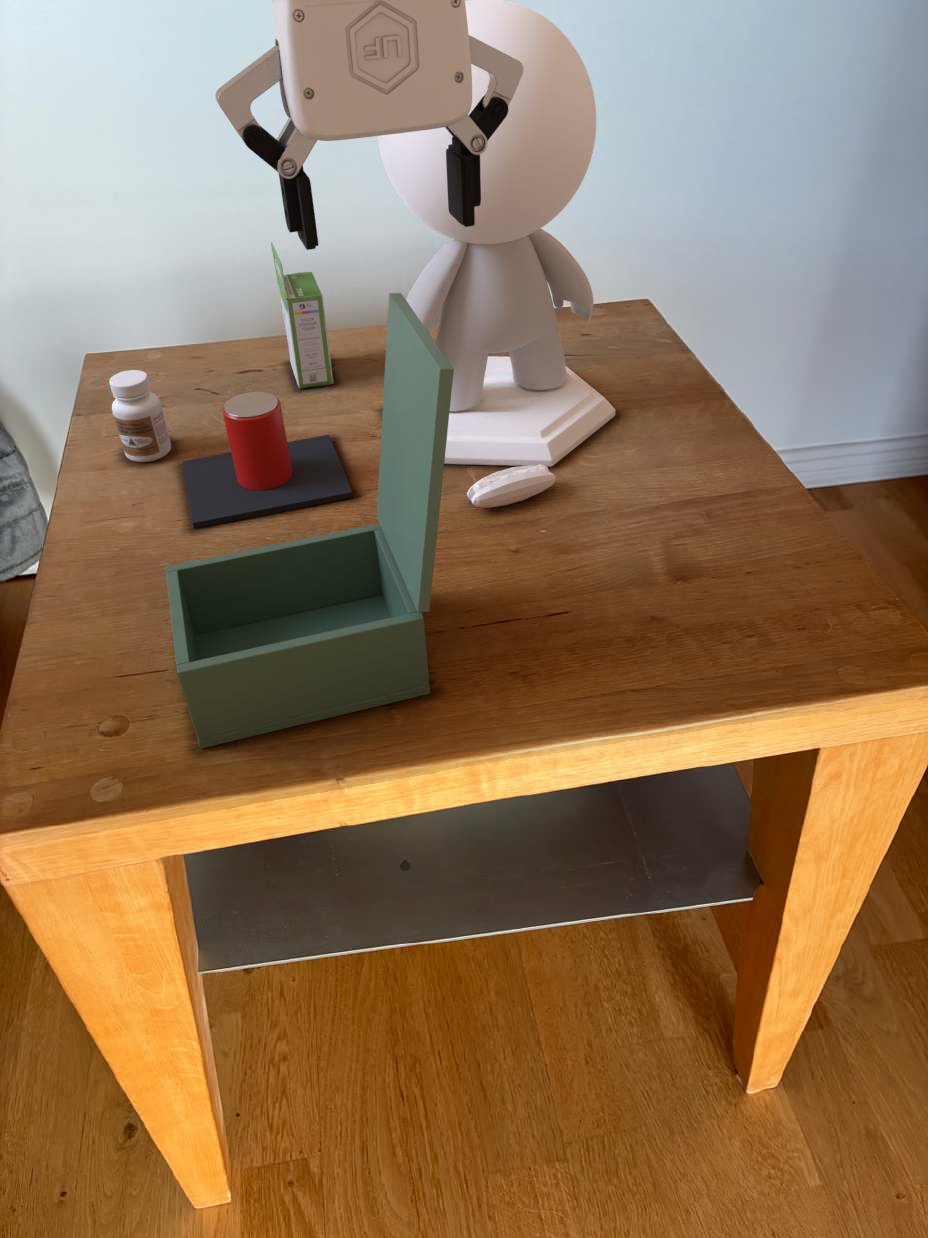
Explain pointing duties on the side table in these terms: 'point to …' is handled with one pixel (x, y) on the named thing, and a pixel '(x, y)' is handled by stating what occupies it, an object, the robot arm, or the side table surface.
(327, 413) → the side table surface
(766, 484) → the side table surface
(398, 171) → the white toy figurine
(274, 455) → the can
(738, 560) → the side table surface
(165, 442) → the pill bottle
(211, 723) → the storage box
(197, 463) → the mat
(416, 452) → the lid
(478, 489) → the white oval capsule
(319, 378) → the ink box
